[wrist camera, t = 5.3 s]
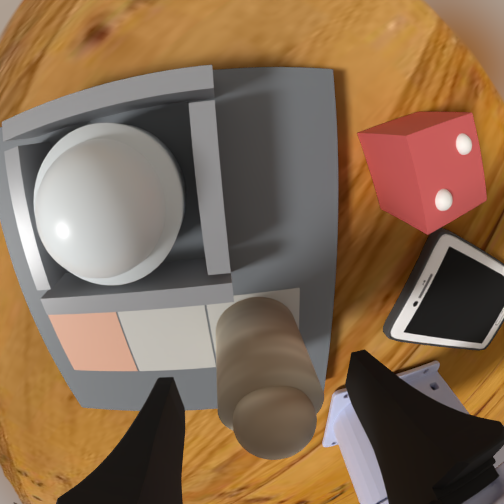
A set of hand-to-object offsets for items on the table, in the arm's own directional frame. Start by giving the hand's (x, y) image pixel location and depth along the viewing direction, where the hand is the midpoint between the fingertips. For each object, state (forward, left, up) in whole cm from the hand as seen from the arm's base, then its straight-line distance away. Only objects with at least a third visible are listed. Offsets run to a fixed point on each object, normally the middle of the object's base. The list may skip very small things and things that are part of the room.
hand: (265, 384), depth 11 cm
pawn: (0, 0, -4) cm, 4 cm away
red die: (-8, -8, -5) cm, 12 cm away
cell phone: (-16, +2, -5) cm, 17 cm away
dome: (+5, -7, -3) cm, 10 cm away
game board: (+4, -3, -5) cm, 7 cm away
